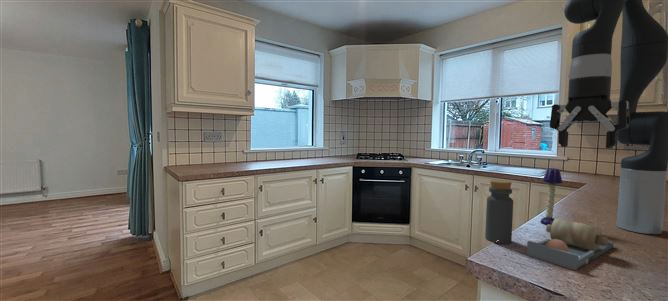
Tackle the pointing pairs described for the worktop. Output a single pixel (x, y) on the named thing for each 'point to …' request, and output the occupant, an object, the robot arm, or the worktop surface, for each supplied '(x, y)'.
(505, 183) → the bottle
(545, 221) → the toy lamp
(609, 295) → the worktop surface
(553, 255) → the grey long tray
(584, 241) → the maple rolling pin
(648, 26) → the robot arm
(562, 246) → the ball
